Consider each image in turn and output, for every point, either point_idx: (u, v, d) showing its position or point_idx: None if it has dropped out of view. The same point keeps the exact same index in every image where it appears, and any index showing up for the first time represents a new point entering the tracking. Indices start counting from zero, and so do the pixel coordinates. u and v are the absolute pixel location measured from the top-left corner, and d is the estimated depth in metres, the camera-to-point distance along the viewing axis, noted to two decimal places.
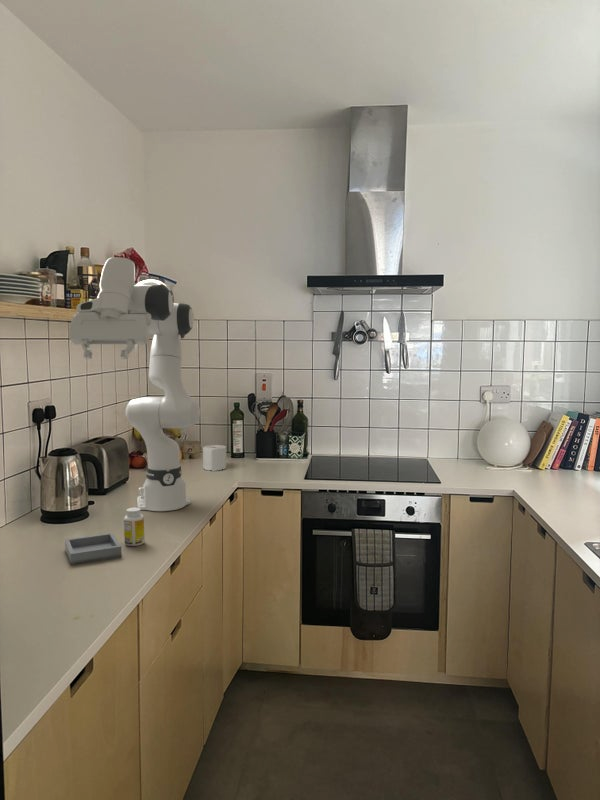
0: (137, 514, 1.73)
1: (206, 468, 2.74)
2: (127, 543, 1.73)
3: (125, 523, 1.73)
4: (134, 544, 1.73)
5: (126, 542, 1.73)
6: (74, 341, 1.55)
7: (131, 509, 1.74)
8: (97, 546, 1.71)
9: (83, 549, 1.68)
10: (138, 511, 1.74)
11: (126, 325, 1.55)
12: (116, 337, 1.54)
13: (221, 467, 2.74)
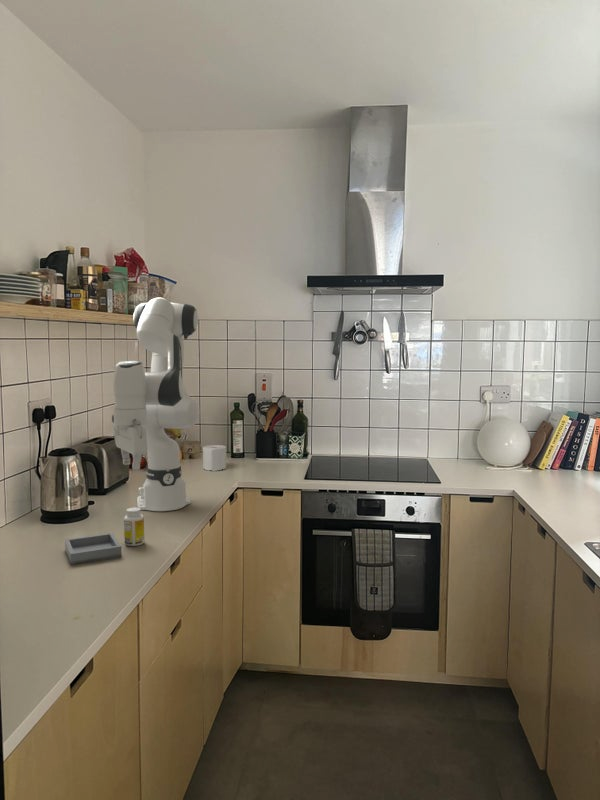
0: (137, 514, 1.73)
1: (206, 468, 2.74)
2: (127, 543, 1.73)
3: (125, 523, 1.73)
4: (134, 544, 1.73)
5: (126, 542, 1.73)
6: None
7: (131, 509, 1.74)
8: (97, 546, 1.71)
9: (83, 549, 1.68)
10: (138, 511, 1.74)
11: (129, 439, 1.66)
12: (127, 451, 1.68)
13: (221, 467, 2.74)
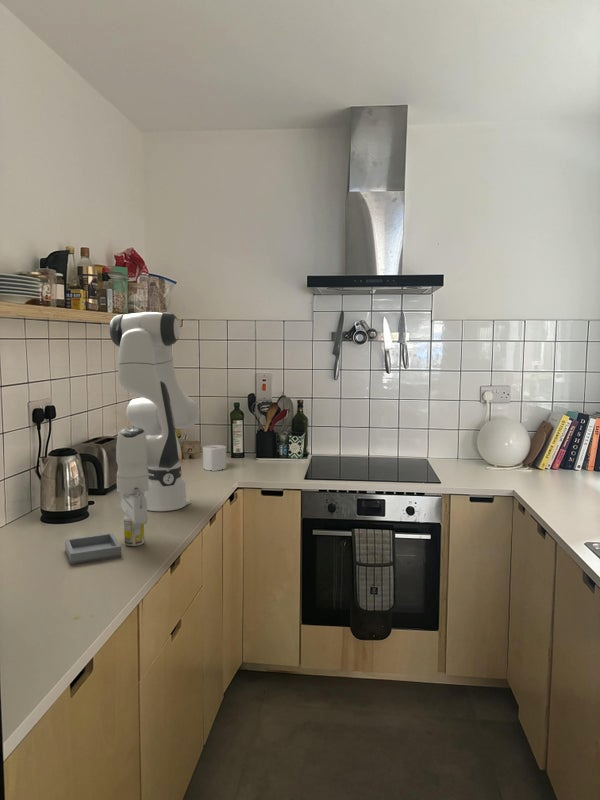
0: None
1: (206, 468, 2.74)
2: (127, 543, 1.73)
3: (125, 523, 1.73)
4: (134, 543, 1.73)
5: (126, 542, 1.73)
6: None
7: None
8: (97, 546, 1.71)
9: (83, 549, 1.68)
10: None
11: (130, 507, 1.69)
12: (129, 517, 1.72)
13: (221, 467, 2.74)
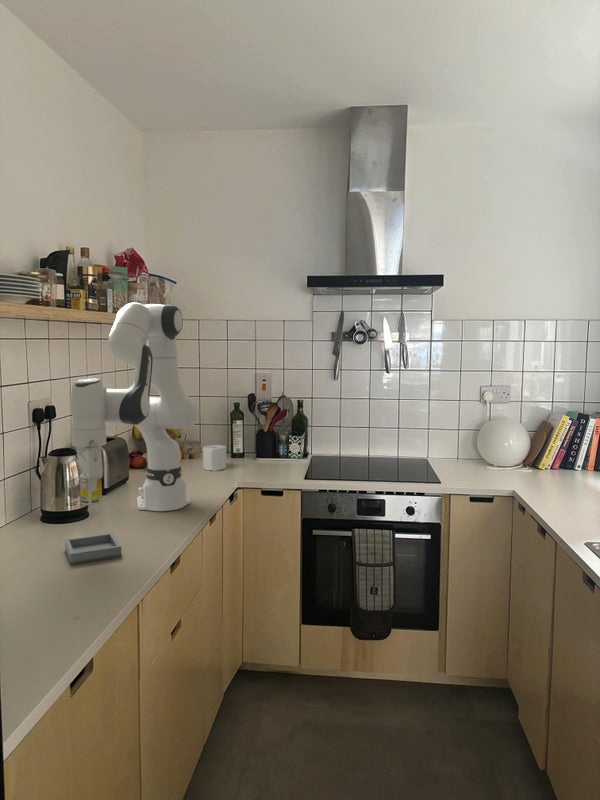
0: None
1: (206, 468, 2.74)
2: (83, 502, 1.64)
3: (80, 481, 1.63)
4: (90, 502, 1.63)
5: (82, 501, 1.64)
6: None
7: None
8: (97, 546, 1.71)
9: (83, 549, 1.68)
10: None
11: (85, 461, 1.60)
12: (85, 473, 1.62)
13: (221, 467, 2.74)
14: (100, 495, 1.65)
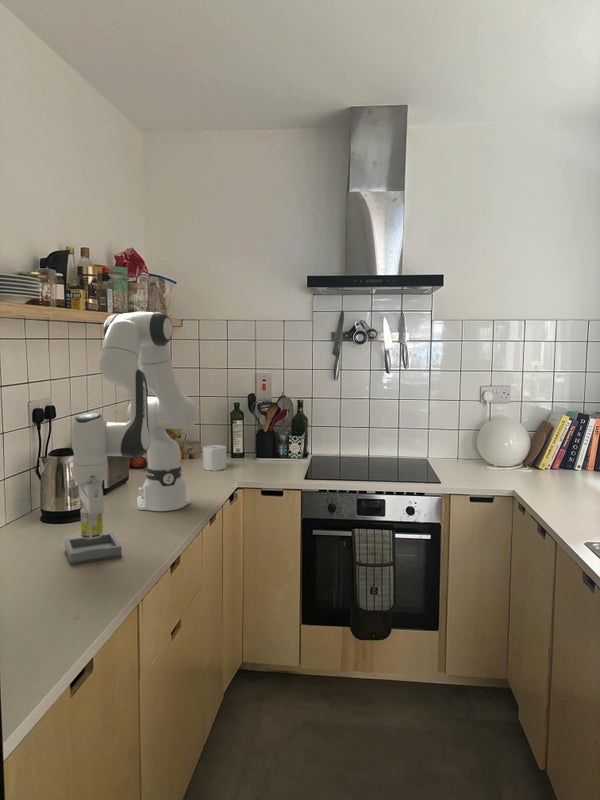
0: None
1: (206, 468, 2.74)
2: (84, 536, 1.64)
3: (81, 515, 1.64)
4: (91, 537, 1.64)
5: (83, 535, 1.65)
6: None
7: None
8: (97, 546, 1.71)
9: (83, 549, 1.68)
10: None
11: (86, 496, 1.61)
12: None
13: (221, 467, 2.74)
14: (101, 529, 1.66)
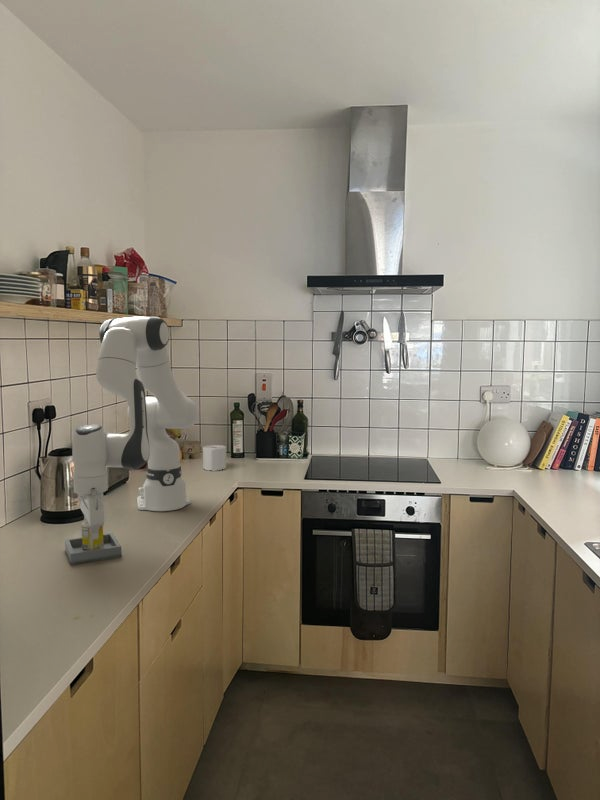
0: None
1: (206, 468, 2.74)
2: (85, 550, 1.65)
3: (82, 529, 1.65)
4: None
5: (84, 549, 1.65)
6: None
7: None
8: None
9: None
10: None
11: (87, 508, 1.61)
12: (86, 519, 1.63)
13: (221, 467, 2.74)
14: (102, 543, 1.67)
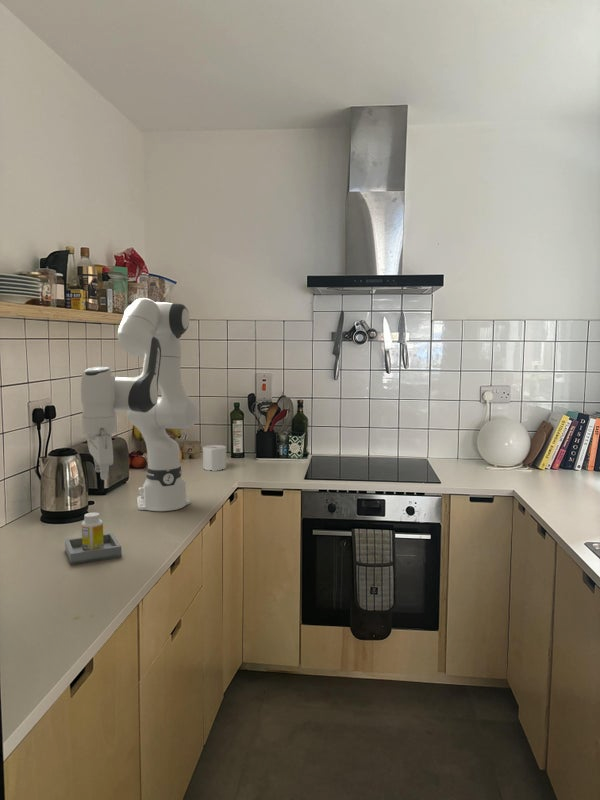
0: (95, 519, 1.65)
1: (206, 468, 2.74)
2: (85, 550, 1.65)
3: (82, 529, 1.65)
4: None
5: (84, 549, 1.65)
6: None
7: (89, 514, 1.66)
8: None
9: None
10: (96, 516, 1.65)
11: (96, 448, 1.62)
12: (95, 460, 1.64)
13: (221, 467, 2.74)
14: (102, 543, 1.67)
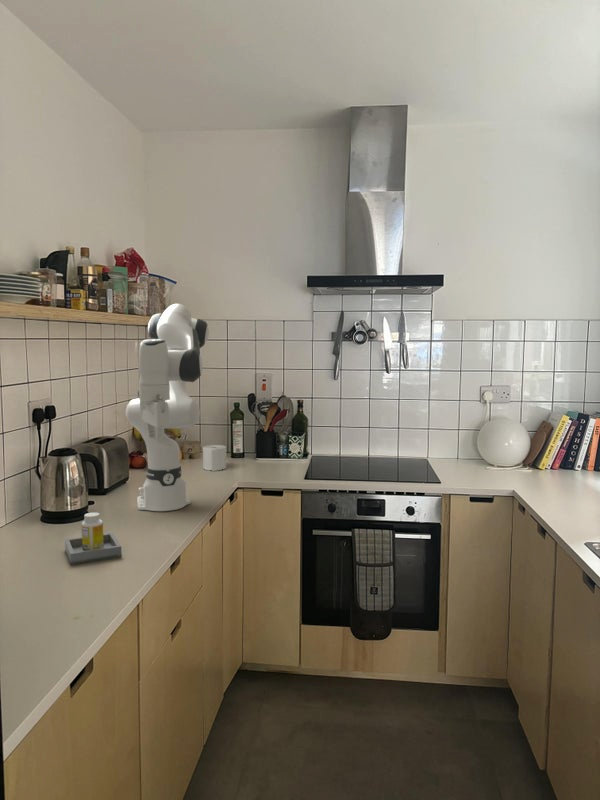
0: (95, 519, 1.65)
1: (206, 468, 2.74)
2: (85, 550, 1.65)
3: (82, 529, 1.65)
4: None
5: (84, 549, 1.65)
6: None
7: (89, 514, 1.66)
8: None
9: None
10: (96, 516, 1.65)
11: (153, 413, 1.75)
12: (151, 424, 1.77)
13: (221, 467, 2.74)
14: (102, 543, 1.67)
